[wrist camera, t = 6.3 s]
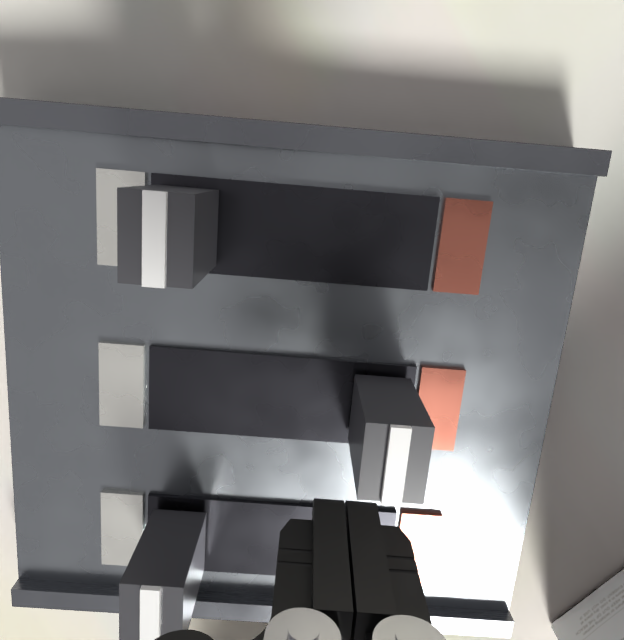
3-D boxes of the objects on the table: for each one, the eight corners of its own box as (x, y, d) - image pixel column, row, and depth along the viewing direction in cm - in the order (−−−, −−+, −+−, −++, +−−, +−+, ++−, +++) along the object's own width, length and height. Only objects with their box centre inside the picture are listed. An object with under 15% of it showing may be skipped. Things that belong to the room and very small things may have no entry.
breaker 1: (219, 189, 18) (193, 194, 14) (216, 265, 19) (190, 290, 15) (157, 184, 18) (114, 187, 14) (156, 260, 19) (115, 284, 15)
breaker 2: (206, 512, 21) (182, 592, 17) (204, 568, 22) (180, 658, 18) (153, 508, 21) (117, 588, 17) (152, 565, 22) (117, 654, 18)
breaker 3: (410, 378, 20) (436, 430, 16) (402, 442, 21) (424, 508, 17) (354, 374, 20) (366, 425, 16) (347, 438, 21) (357, 503, 16)
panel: (574, 153, 20) (612, 150, 18) (490, 591, 25) (510, 638, 23) (21, 105, 20) (-20, 95, 17) (42, 562, 25) (12, 606, 22)
